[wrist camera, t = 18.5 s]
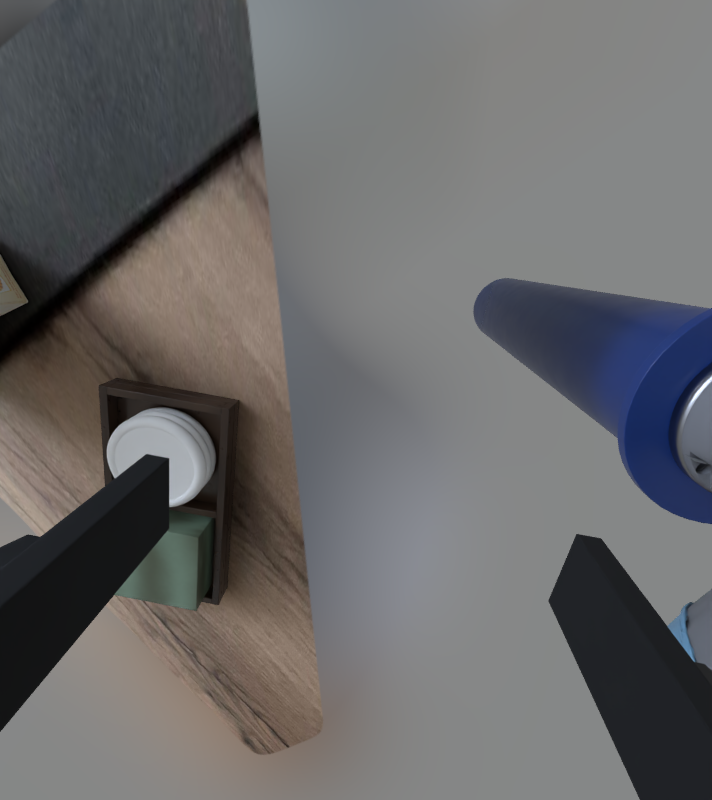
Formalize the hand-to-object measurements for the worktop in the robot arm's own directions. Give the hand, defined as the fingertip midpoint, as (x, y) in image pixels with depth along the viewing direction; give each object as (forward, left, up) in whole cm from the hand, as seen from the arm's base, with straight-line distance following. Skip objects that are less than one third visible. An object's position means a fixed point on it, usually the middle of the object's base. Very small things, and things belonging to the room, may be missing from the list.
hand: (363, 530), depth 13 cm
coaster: (+20, +14, -26) cm, 35 cm away
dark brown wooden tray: (+20, +20, -27) cm, 39 cm away
